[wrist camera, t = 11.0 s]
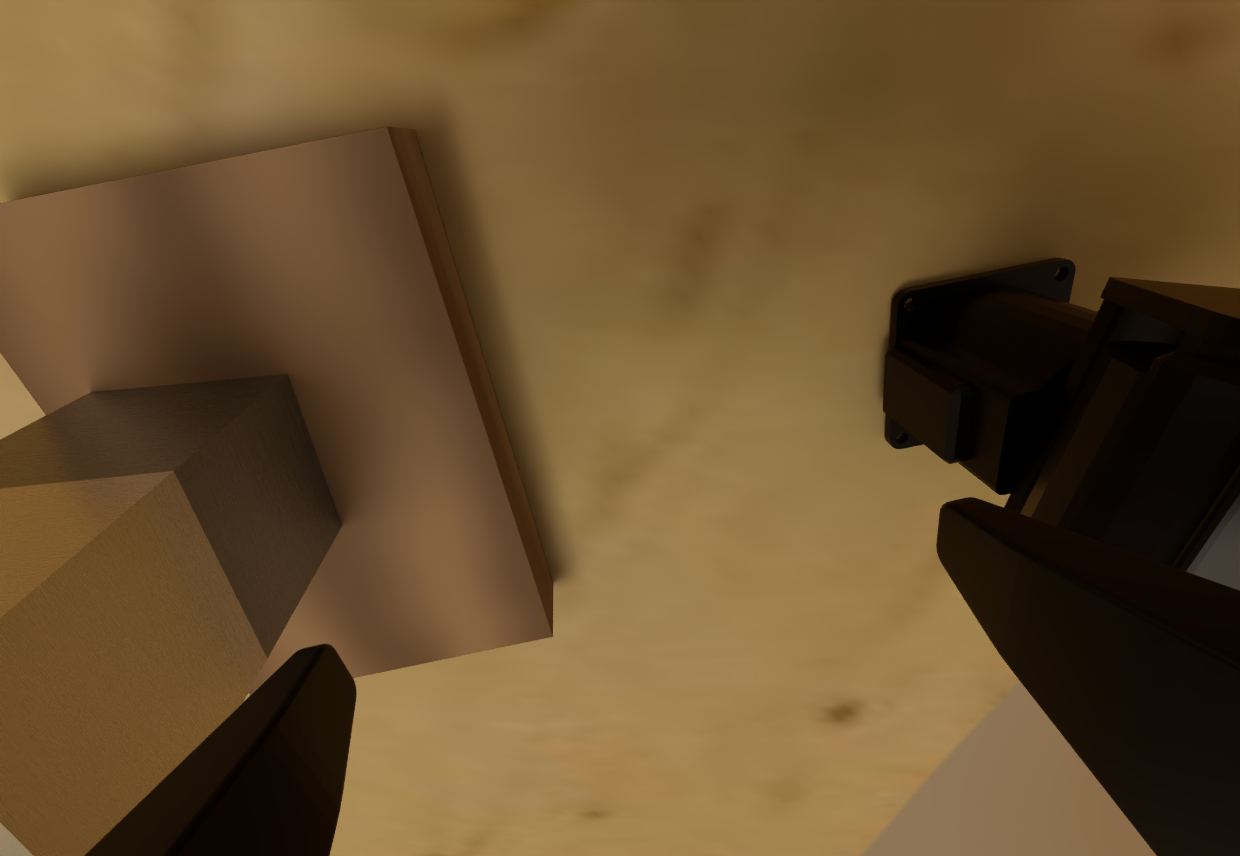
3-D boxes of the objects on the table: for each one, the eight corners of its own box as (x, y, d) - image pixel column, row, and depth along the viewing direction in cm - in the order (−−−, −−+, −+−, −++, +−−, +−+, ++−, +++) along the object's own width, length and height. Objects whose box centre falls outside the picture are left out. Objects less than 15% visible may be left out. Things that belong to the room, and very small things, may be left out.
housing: (288, 373, 16) (-110, 711, 7) (342, 526, 19) (112, 934, 9) (89, 392, 16) (-639, 777, 6) (172, 544, 19) (-257, 990, 9)
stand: (414, 129, 17) (386, 126, 14) (553, 583, 25) (552, 636, 22) (10, 209, 16) (-96, 221, 14) (285, 639, 25) (253, 698, 22)
